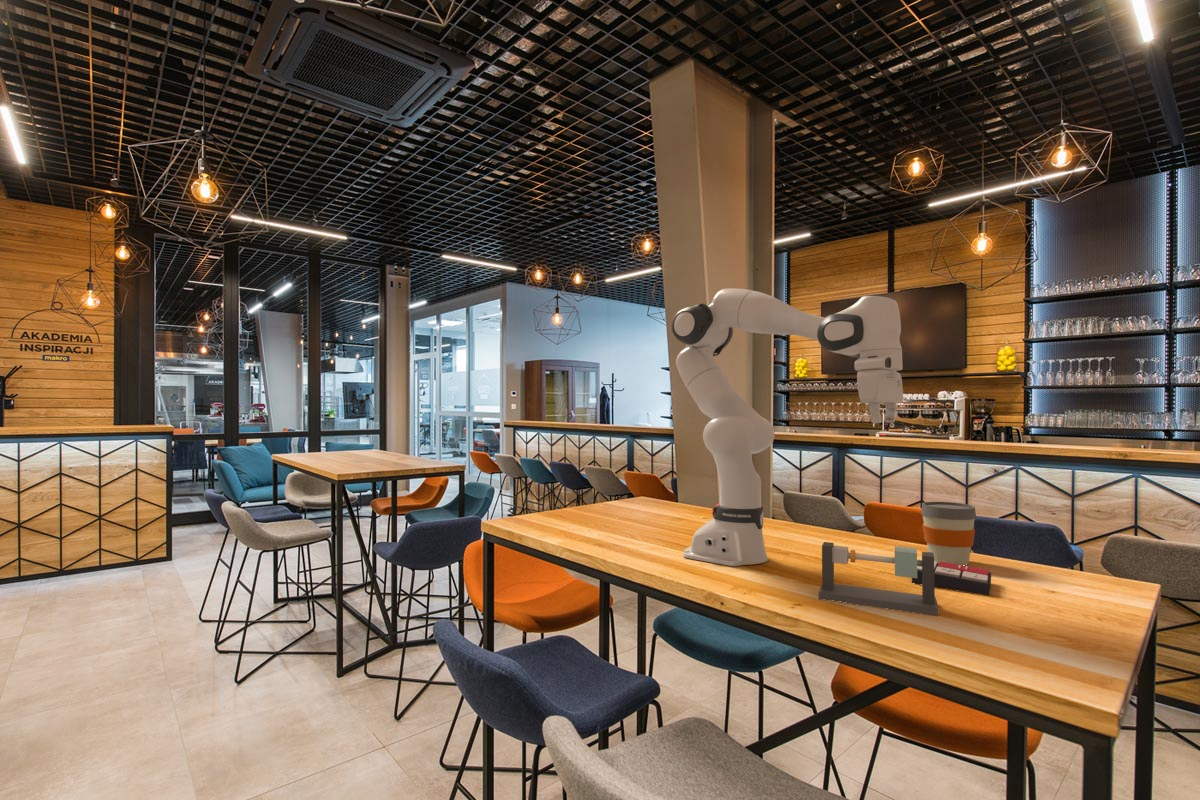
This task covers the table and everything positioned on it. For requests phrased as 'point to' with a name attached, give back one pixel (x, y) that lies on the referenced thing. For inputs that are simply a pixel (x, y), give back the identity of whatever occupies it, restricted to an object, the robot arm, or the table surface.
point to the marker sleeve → (905, 562)
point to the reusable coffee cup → (949, 530)
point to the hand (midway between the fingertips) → (883, 422)
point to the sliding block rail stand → (876, 596)
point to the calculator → (958, 578)
